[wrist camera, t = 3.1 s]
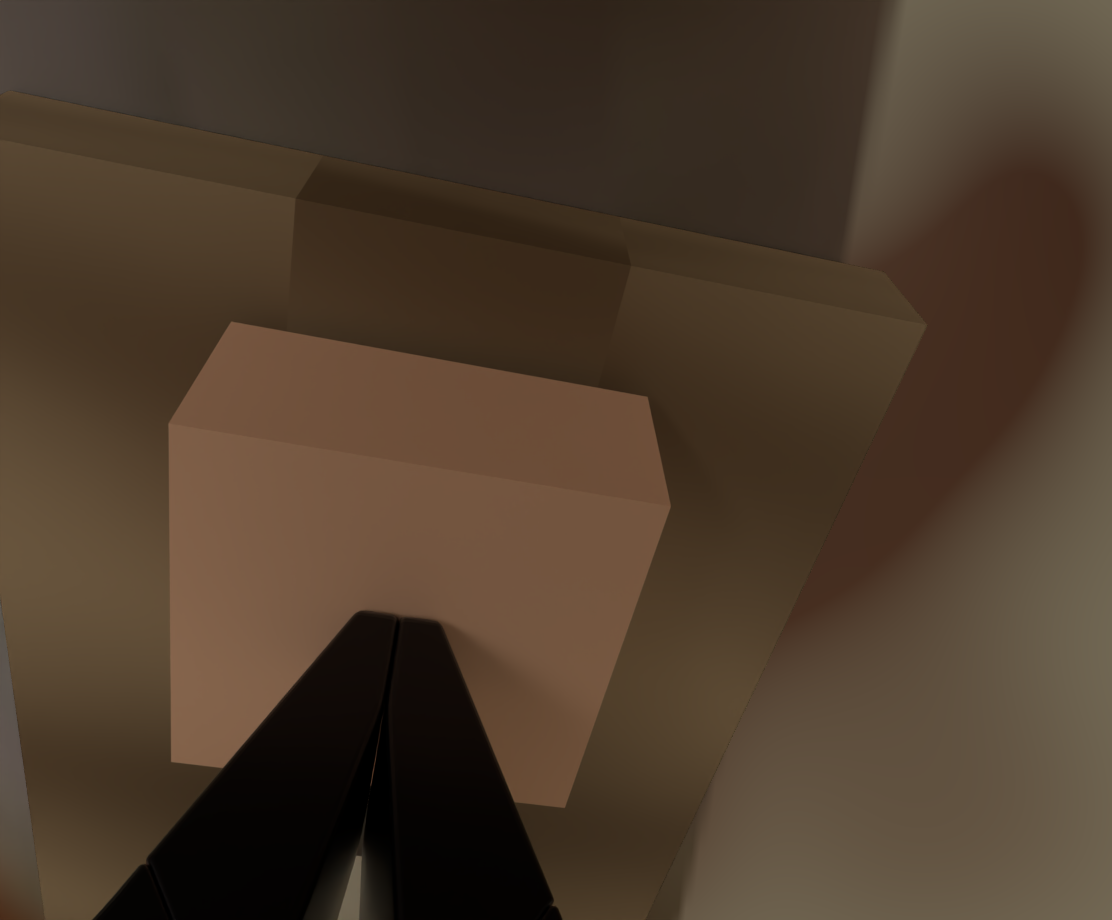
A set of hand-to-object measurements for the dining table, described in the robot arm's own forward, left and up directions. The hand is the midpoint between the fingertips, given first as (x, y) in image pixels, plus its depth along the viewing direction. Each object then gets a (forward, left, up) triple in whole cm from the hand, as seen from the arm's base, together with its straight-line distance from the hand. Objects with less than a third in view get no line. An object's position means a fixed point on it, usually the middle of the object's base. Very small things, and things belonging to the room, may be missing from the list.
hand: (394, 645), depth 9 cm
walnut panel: (-6, 0, -4) cm, 8 cm away
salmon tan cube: (0, 0, -3) cm, 3 cm away
